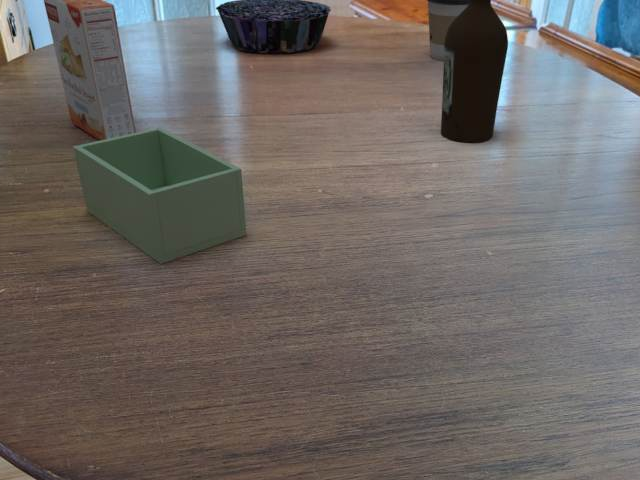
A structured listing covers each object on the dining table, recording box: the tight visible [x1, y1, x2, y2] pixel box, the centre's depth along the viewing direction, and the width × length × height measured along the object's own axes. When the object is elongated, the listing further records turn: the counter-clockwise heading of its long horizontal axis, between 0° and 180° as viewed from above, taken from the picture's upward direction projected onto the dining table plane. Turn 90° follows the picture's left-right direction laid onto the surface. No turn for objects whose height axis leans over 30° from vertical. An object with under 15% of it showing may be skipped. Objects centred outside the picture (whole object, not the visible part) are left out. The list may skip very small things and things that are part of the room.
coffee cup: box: [426, 0, 471, 62], centre depth 170 cm, size 11×11×15 cm
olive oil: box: [440, 0, 509, 143], centre depth 123 cm, size 11×11×25 cm
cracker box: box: [43, 0, 137, 141], centre depth 118 cm, size 14×6×21 cm, turn 42°
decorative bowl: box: [215, 0, 332, 54], centre depth 176 cm, size 26×28×10 cm
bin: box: [72, 126, 248, 265], centre depth 94 cm, size 13×20×9 cm, turn 43°
